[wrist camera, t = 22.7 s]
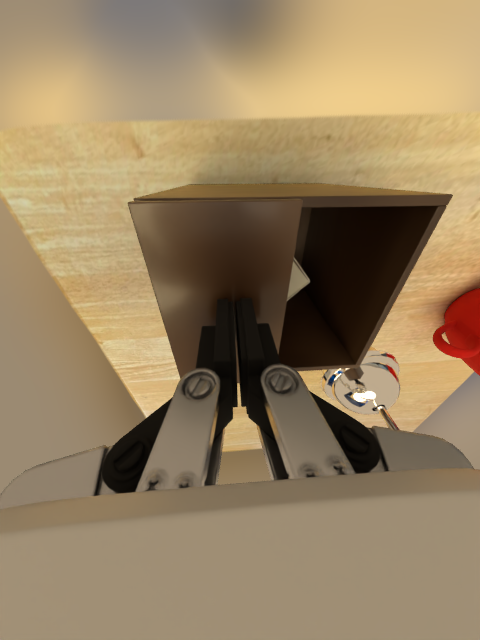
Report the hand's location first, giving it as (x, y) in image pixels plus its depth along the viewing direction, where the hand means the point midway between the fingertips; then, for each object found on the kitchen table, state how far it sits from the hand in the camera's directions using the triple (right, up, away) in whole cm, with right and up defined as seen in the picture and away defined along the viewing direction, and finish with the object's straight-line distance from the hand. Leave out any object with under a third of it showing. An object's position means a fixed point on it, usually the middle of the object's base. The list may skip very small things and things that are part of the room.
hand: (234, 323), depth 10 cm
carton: (+2, +9, +12) cm, 16 cm away
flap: (-1, 0, 0) cm, 1 cm away
